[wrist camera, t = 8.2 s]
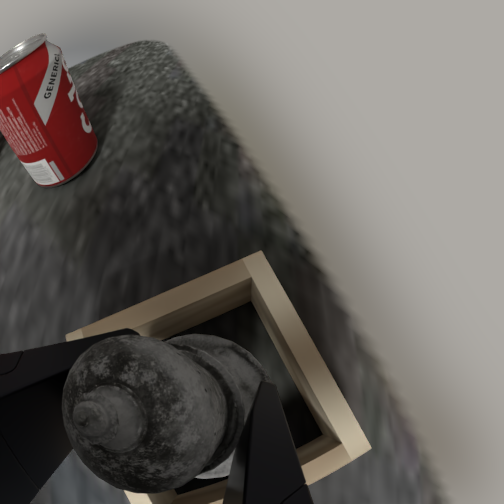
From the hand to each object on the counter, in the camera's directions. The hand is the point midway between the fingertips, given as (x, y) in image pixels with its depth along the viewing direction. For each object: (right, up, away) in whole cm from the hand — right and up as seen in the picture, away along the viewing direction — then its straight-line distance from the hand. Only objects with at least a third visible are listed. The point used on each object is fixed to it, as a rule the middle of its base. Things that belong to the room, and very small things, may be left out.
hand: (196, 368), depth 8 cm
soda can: (-15, +11, +15) cm, 23 cm away
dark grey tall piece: (-1, -4, +6) cm, 7 cm away
